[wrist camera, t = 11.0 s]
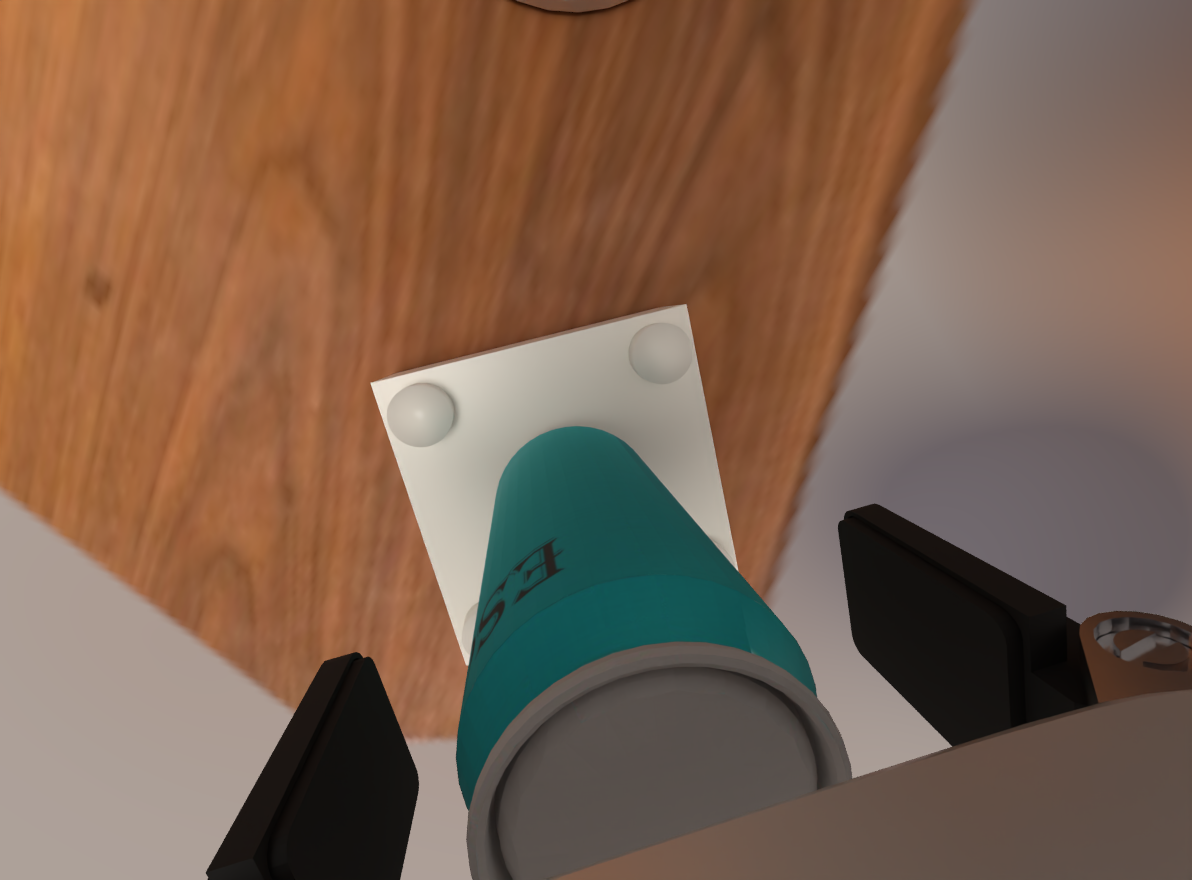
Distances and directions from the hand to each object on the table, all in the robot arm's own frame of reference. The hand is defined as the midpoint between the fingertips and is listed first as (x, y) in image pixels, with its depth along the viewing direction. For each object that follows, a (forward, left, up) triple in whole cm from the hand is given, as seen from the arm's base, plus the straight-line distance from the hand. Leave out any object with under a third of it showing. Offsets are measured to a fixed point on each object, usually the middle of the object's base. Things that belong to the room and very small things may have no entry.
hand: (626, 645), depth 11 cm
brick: (0, 0, -15) cm, 15 cm away
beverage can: (0, 0, -12) cm, 12 cm away
